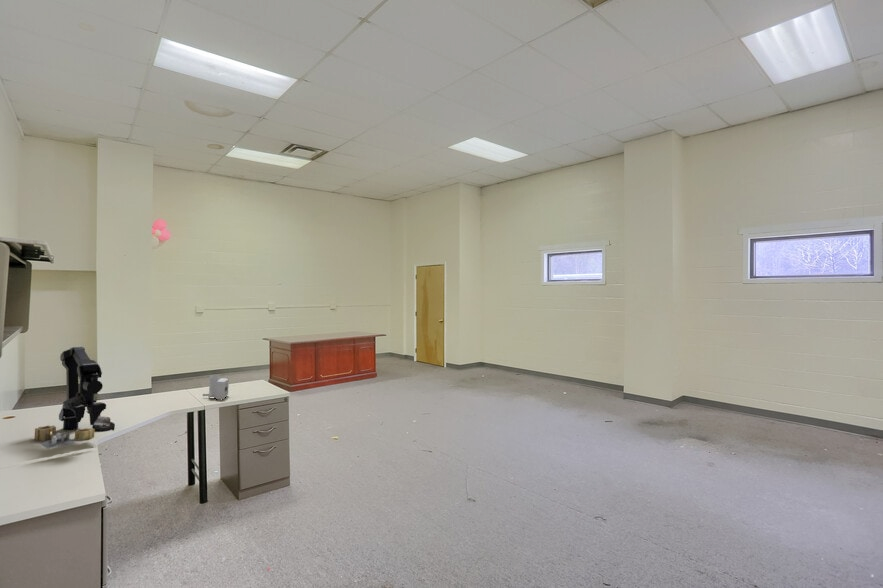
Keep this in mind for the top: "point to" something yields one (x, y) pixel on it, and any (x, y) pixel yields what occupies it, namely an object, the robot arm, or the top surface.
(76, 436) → the planet gear
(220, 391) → the grey block housing
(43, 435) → the seated gear
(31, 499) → the top surface
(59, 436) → the sun gear
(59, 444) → the plate
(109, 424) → the caster wheel
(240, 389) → the top surface
